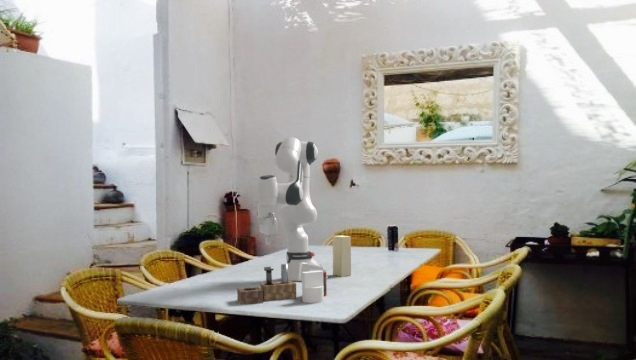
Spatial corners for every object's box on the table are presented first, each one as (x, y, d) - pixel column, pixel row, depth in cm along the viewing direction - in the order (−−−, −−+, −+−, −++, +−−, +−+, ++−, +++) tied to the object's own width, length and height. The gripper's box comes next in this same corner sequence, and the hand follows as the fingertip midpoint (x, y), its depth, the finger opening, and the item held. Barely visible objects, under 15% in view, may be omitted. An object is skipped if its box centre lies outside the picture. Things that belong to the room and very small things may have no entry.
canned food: (320, 297, 224) (320, 272, 224) (305, 296, 228) (304, 270, 229) (330, 294, 231) (329, 269, 231) (314, 293, 235) (314, 268, 235)
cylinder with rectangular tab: (307, 303, 214) (306, 274, 214) (299, 299, 222) (298, 271, 222) (327, 301, 217) (326, 272, 217) (318, 297, 225) (318, 269, 226)
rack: (258, 298, 226) (258, 286, 226) (262, 302, 217) (262, 290, 217) (237, 300, 223) (237, 288, 223) (241, 304, 214) (240, 292, 215)
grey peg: (287, 295, 230) (286, 263, 230) (289, 297, 227) (288, 264, 227) (280, 296, 229) (280, 264, 229) (282, 297, 226) (281, 265, 226)
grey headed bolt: (272, 285, 228) (272, 266, 229) (274, 286, 225) (274, 267, 225) (263, 286, 227) (263, 267, 227) (265, 287, 223) (265, 268, 224)
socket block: (291, 294, 233) (291, 280, 233) (296, 297, 226) (296, 283, 226) (260, 296, 229) (260, 283, 229) (264, 300, 221) (264, 286, 221)
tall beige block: (352, 275, 280) (351, 236, 281) (341, 276, 276) (340, 237, 276) (343, 273, 287) (342, 235, 287) (332, 275, 283) (332, 236, 283)
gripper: (280, 213, 218) (281, 246, 217) (269, 211, 237) (270, 242, 237) (265, 213, 216) (266, 247, 215) (255, 212, 235) (256, 243, 235)
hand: (268, 244), depth 226 cm, fingers closed
